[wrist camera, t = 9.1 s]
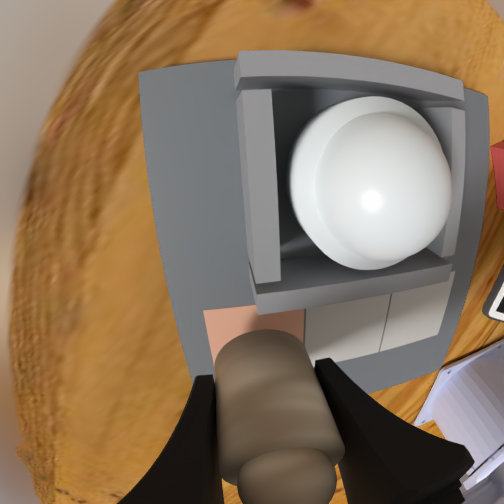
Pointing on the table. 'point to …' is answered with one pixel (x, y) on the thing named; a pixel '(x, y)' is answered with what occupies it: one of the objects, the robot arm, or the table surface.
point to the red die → (499, 171)
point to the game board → (285, 224)
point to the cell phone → (496, 300)
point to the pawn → (274, 421)
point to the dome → (368, 182)
